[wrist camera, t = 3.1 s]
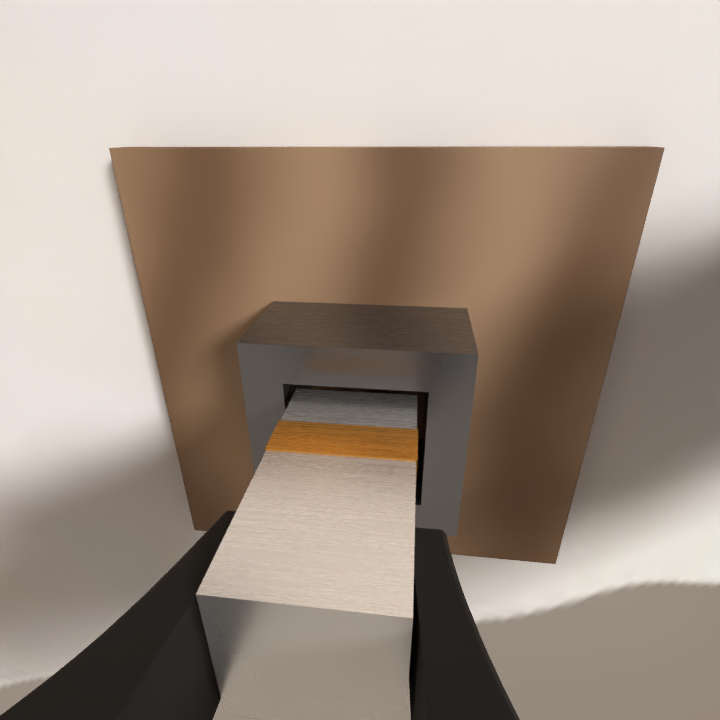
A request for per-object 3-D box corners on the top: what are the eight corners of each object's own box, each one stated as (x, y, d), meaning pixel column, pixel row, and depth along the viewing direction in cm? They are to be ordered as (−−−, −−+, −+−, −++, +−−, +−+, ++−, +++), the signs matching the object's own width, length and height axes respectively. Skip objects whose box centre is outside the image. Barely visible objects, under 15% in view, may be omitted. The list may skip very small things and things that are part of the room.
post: (418, 394, 13) (414, 617, 7) (412, 491, 15) (406, 740, 9) (295, 387, 13) (193, 593, 7) (302, 482, 15) (223, 714, 9)
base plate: (648, 146, 13) (664, 147, 12) (549, 544, 20) (555, 563, 20) (127, 147, 15) (108, 148, 14) (203, 513, 22) (194, 529, 21)
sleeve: (467, 308, 15) (478, 354, 12) (450, 466, 18) (456, 536, 15) (273, 301, 16) (236, 343, 13) (287, 454, 19) (260, 519, 16)
